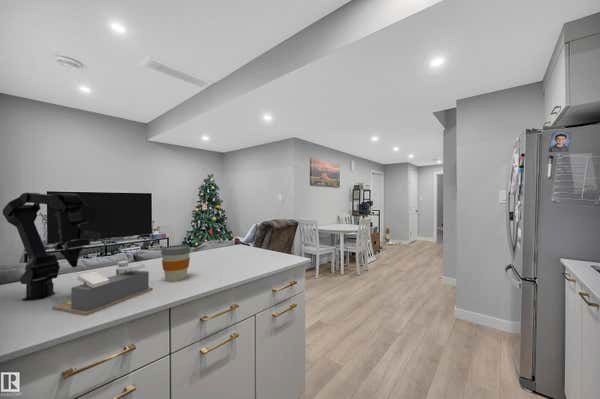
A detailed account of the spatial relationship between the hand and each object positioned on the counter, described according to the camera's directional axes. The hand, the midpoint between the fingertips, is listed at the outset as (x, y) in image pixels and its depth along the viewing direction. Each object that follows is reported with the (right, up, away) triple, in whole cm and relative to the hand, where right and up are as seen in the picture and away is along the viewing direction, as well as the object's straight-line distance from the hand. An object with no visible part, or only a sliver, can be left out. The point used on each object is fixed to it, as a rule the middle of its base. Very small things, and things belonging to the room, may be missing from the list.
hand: (74, 267), depth 90 cm
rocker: (+17, -4, +7) cm, 19 cm away
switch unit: (+12, -12, +1) cm, 17 cm away
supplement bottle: (+4, -13, +19) cm, 24 cm away
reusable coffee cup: (+25, -13, +25) cm, 38 cm away
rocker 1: (+13, -3, -7) cm, 15 cm away
